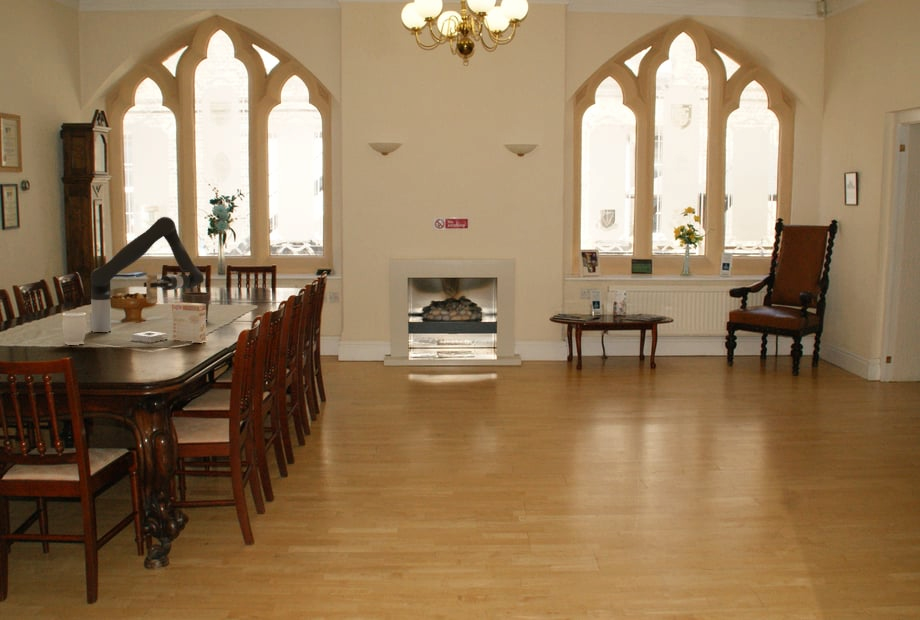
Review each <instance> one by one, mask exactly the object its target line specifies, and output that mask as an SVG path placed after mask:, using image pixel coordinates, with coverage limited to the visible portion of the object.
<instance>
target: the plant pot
mask: <svg viewBox="0 0 920 620" xmlns="http://www.w3.org/2000/svg"><path fill="white" fill-rule="evenodd" d="M211 295H212V293H210V292H206V291H205V292H202V291H200V292H199V291H190V292H182V293H181V296H182V302H183V303H199V304H206V319H207V320H208V316H209V315H208V314H209V303H210V299H211Z"/></svg>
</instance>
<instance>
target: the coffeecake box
mask: <svg viewBox="0 0 920 620" xmlns="http://www.w3.org/2000/svg"><path fill="white" fill-rule="evenodd" d="M171 304H172V305H171V307H172V308H171V311H172V313H171V314H172V315H171V316H172V317H171V318H172V323H171V325H172V327H171V328H172V330H171V331H172V334H171V336H172V338H171V339H172V341H174V340H180V341H179V342H186V341H193V342H202V341H206V342H207V321H206V304H199V303H184V301H182V302H181V301H179V302H172V303H171Z"/></svg>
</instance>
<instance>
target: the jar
mask: <svg viewBox="0 0 920 620" xmlns="http://www.w3.org/2000/svg"><path fill="white" fill-rule="evenodd" d="M61 316H62V323H61V324H62V327H61V328H62V332H63V333H62V334H63V337H64V339H65V344H67V345H66V346H69V345H77V346H80V345H79V344H83V345H85V342H84V340H85V337H86V332H87V320H86V316H87V312H81V311H76V312H75V311H73V312H71V311H70V312H64V313H62V314H61ZM65 344H64V345H65Z"/></svg>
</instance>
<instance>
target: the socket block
mask: <svg viewBox="0 0 920 620" xmlns="http://www.w3.org/2000/svg"><path fill="white" fill-rule="evenodd" d="M130 337H131V340H132V342H133V341H134V342H139V341H142V342H141V343H147V342H149V343H150V344H152V343H151V342H153V343H156V342H155V341H158V342H161V341H160V340H163V341H166V340H165V339H169V334H168V333H167V332H160V331H159V332H157V331H143V332H138V333H133V334H131V336H130ZM131 340H130V341H131Z"/></svg>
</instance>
